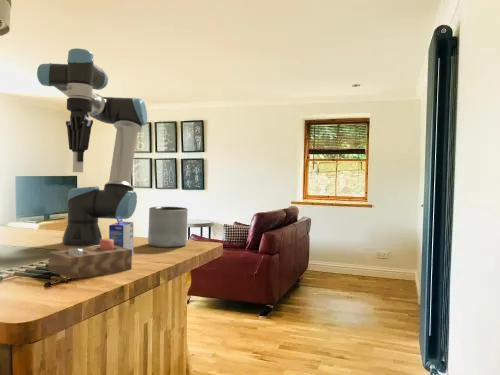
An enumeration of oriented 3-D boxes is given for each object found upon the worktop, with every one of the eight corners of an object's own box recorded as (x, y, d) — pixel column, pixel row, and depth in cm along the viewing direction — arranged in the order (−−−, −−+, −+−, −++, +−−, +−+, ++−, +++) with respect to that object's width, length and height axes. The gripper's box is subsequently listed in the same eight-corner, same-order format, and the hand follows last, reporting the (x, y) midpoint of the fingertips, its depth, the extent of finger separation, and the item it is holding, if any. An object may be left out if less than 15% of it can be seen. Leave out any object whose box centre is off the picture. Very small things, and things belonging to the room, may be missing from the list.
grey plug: (65, 267, 118) (65, 249, 118) (78, 265, 122) (79, 247, 121) (72, 270, 116) (72, 251, 116) (85, 268, 119) (86, 249, 119)
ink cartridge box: (118, 254, 147) (120, 214, 147) (133, 255, 147) (135, 215, 147) (107, 260, 137) (108, 217, 137) (123, 261, 137) (124, 218, 137)
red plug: (97, 257, 126) (97, 239, 126) (108, 255, 129) (109, 238, 129) (104, 259, 124) (104, 241, 124) (115, 257, 127) (116, 240, 127)
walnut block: (69, 280, 111) (69, 258, 111) (48, 272, 119) (48, 251, 118) (131, 268, 127) (132, 249, 127) (109, 262, 134) (110, 244, 134)
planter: (140, 243, 172) (142, 207, 171) (173, 240, 182) (174, 206, 182) (160, 249, 160) (161, 210, 159) (194, 246, 171) (195, 209, 170)
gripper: (58, 98, 132) (56, 171, 133) (79, 94, 124) (77, 172, 125) (80, 102, 138) (78, 172, 139) (101, 99, 130) (99, 173, 130)
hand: (77, 172), depth 132 cm, fingers closed
